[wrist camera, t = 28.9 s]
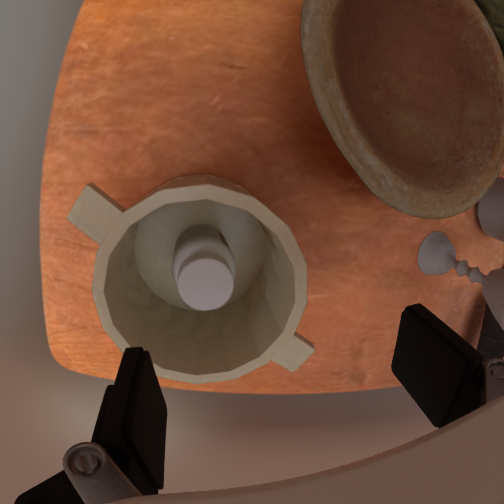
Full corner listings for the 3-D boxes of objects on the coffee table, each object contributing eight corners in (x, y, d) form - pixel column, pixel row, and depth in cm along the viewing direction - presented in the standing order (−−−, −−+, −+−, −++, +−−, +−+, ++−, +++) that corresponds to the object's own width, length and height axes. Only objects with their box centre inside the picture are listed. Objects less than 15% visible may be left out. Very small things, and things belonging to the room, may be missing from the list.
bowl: (354, 249, 29) (400, 281, 21) (219, 21, 20) (228, -26, 13) (493, 146, 28) (542, 152, 20) (406, -32, 20) (447, -58, 12)
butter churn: (499, 292, 37) (442, 437, 41) (460, 289, 36) (401, 446, 40) (539, 310, 28) (465, 466, 32) (503, 310, 27) (423, 480, 31)
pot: (162, 123, 23) (139, 105, 14) (321, 255, 28) (371, 300, 19) (77, 243, 24) (28, 287, 16) (234, 351, 30) (248, 420, 21)
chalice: (400, 257, 30) (532, 344, 13) (436, 209, 29) (576, 264, 12) (429, 293, 32) (539, 377, 15) (462, 249, 31) (578, 311, 14)
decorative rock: (463, -48, 17) (442, -1, 27) (435, -51, 14) (408, 15, 23) (553, 21, 14) (523, 62, 24) (562, 45, 11) (516, 100, 21)
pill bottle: (226, 274, 27) (241, 317, 20) (175, 274, 26) (171, 318, 19) (228, 223, 26) (244, 249, 18) (174, 223, 25) (168, 249, 18)
